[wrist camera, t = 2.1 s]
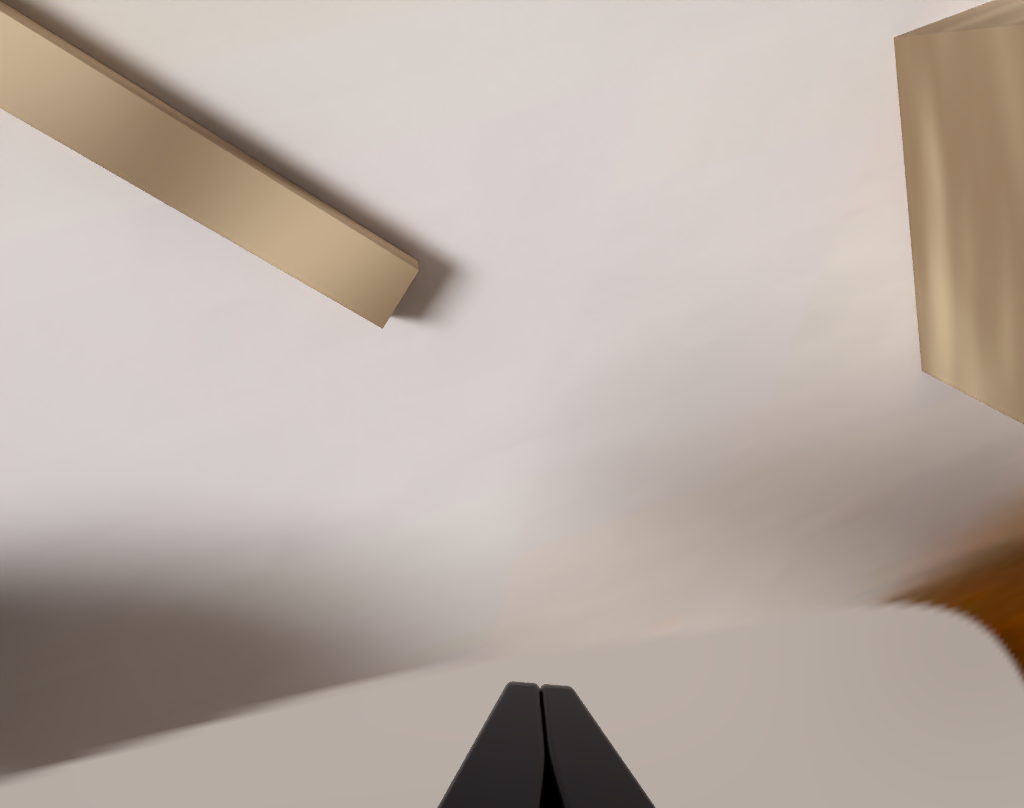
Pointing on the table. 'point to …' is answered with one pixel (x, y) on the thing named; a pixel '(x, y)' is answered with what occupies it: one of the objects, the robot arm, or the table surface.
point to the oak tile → (968, 197)
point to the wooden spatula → (194, 170)
